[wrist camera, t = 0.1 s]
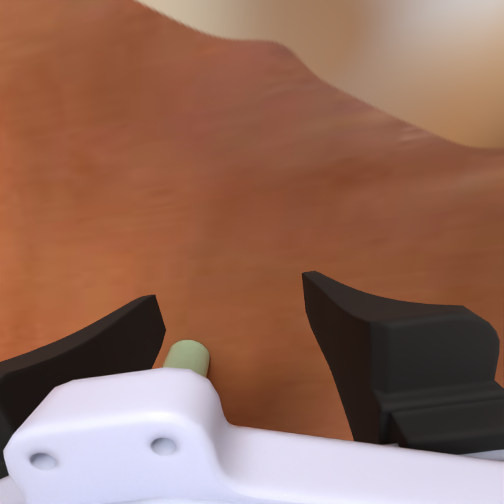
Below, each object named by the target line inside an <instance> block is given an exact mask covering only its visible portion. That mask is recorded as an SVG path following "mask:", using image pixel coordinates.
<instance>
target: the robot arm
mask: <svg viewBox="0 0 504 504" xmlns="http://www.w3.org/2000/svg"><path fill="white" fill-rule="evenodd" d="M302 280H303V289H304V299H305V309H306V313H307V316H308V320H309V323H310V326H311V329H312V331H313V333H314V335H315V337H316V339H317V342H318V344H319V346H320V348H321V350H322V352H323V354H324V356H325V359H326V361H327V363H328V365H329V367H330V370H331V372H332V375H333V378H334V381H335V383H336V386H337V389H338V392H339V395H340V398H341V401H342V404H343V407H344V410H345V413H346V416H347V419H348V422H349V426H350V429H351V432H352V435H353V438H354V441H349V440H341V439H334V438H326V437H319V436H311V435H304V434H296V433H289V432H281V431H274V430H266V429H259V428H251V427H244V426H236V425H232V424H230V423H228V422H227V420H226V418H225V416H224V414H223V410H222V406H221V402H220V398H219V395H218V393H217V392H216V390H215V389H214V387H213V385H212V384H211V382H210V381H209V379H207V378H205V377H203V376H201V375H199V374H198V373H196V372H194V371H192V370H190V369H181V368H168V367H166V368H158V369H151V368H152V366H153V364H154V362H155V360H156V358H157V355H158V353H159V351H160V349H161V346H162V343H163V339H164V335H165V332H166V328H165V325H164V322H163V319H162V315H161V312H160V309H159V306H158V302H157V299H156V296H155V295H148V296H142V297H140V298H137V299H135V300H133V301H131V302H130V303H128V304H126V305H124V306H123V307H121V308H119V309H117V310H116V311H114V312H112V313H110V314H109V315H107V316H105V317H103V318H102V319H100V320H98V321H96V322H94V323H93V324H91V325H89V326H87V327H85V328H83V329H81V330H79V331H77V332H75V333H73V334H71V335H69V336H67V337H65V338H62V339H60V340H58V341H56V342H53V343H51V344H48V345H46V346H43V347H41V348H38V349H36V350H33V351H31V352H28V353H25V354H22V355H20V356H17V357H14V358H11V359H8V360H5V361H2V362H0V504H504V388H502V387H501V386H500V385H499V384H498V383H497V382H496V381H494V378H495V373H496V367H497V362H498V356H499V338H498V335H497V332H496V330H495V329H494V328H493V327H492V326H491V325H490V323H489V322H487V321H485V320H484V319H482V318H481V317H479V316H478V315H476V314H475V313H473V312H472V311H470V310H469V309H467V308H466V307H464V306H458V305H435V304H422V303H413V302H406V301H399V300H394V299H389V298H384V297H380V296H375V295H372V294H369V293H365V292H362V291H359V290H356V289H354V288H351V287H349V286H346V285H344V284H341V283H339V282H337V281H335V280H333V279H331V278H329V277H327V276H325V275H323V274H321V273H319V272H316V271H311V272H304V273H302Z"/></svg>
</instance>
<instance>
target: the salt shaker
mask: <svg viewBox="0 0 504 504" xmlns="http://www.w3.org/2000/svg"><path fill="white" fill-rule="evenodd" d="M209 362H210V355H209V352H208V350H207V349H206V347H205V346H203V345H202V344H201V343H199V342H197V341H193V340H182V341H179V342H177V343H175V344H174V345H172V347H171V348H170V349H169V351H168V354H167V356H166V358H165V361H164V363H163V365H162V368H166V367H168V368H181V369H190V370H192V371H194V372H196V373H198V374H199V375H201V376H203V377H205V378H206V377H207V372H208V367H209Z"/></svg>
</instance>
